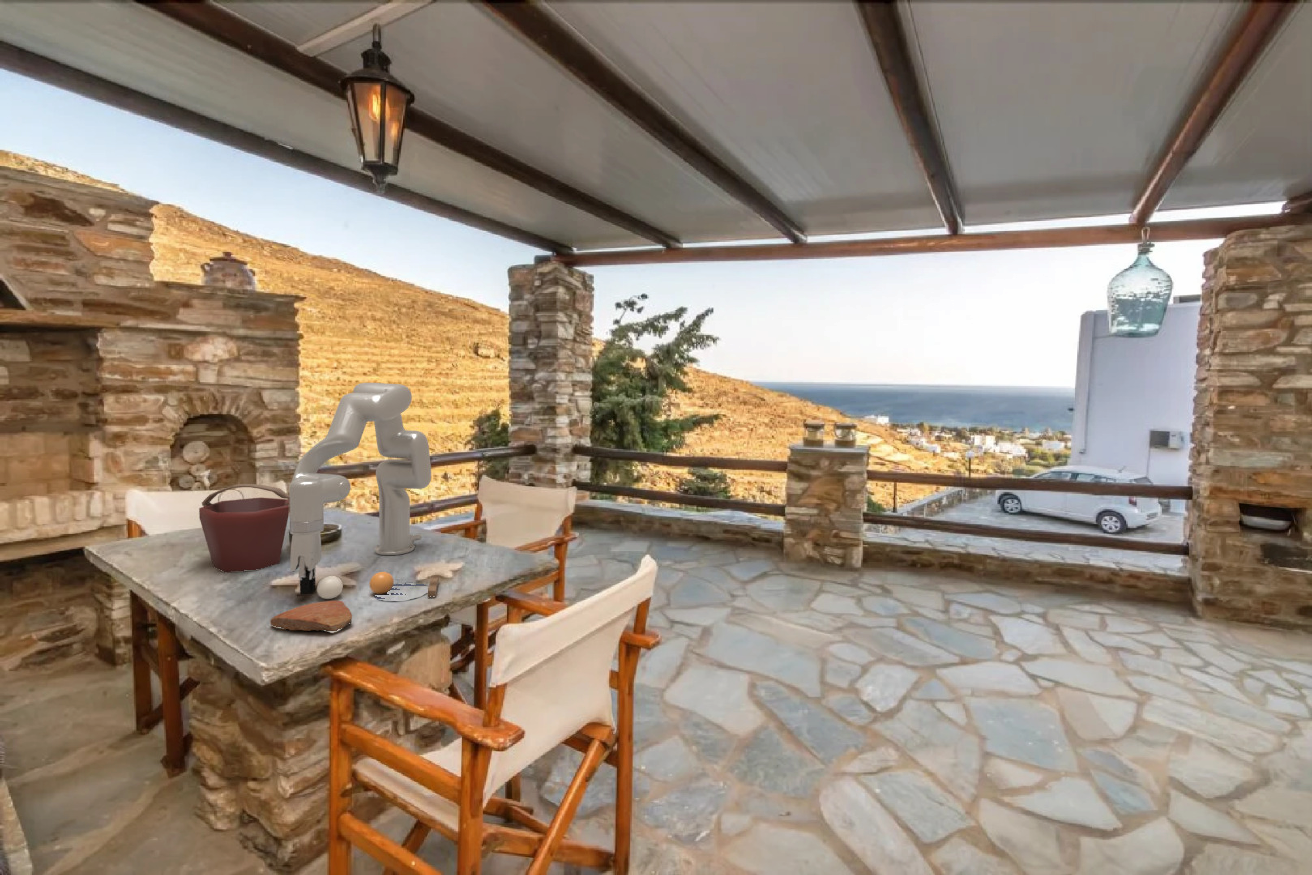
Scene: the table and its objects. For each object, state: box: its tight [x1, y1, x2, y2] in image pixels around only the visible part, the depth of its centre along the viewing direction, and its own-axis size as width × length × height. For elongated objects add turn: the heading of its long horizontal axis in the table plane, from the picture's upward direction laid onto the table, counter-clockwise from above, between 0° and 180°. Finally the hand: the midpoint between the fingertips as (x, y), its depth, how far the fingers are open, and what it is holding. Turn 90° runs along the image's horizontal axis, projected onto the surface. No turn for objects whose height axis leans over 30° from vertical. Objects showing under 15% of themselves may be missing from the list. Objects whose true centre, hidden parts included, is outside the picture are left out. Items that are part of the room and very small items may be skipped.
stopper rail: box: [427, 575, 440, 598], centre depth 154 cm, size 12×2×2 cm, turn 18°
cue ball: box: [316, 575, 344, 600], centre depth 145 cm, size 6×6×6 cm
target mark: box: [373, 582, 428, 600], centre depth 152 cm, size 14×14×1 cm
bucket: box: [198, 483, 290, 573], centre depth 168 cm, size 24×22×25 cm
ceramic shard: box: [269, 600, 353, 632], centre depth 129 cm, size 15×6×15 cm
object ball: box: [369, 571, 395, 594], centre depth 150 cm, size 6×6×6 cm
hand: (307, 592), depth 145 cm, fingers closed
